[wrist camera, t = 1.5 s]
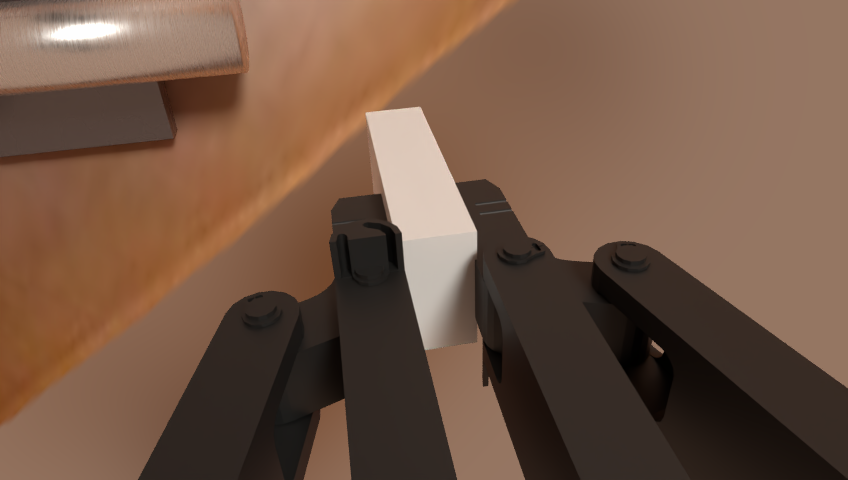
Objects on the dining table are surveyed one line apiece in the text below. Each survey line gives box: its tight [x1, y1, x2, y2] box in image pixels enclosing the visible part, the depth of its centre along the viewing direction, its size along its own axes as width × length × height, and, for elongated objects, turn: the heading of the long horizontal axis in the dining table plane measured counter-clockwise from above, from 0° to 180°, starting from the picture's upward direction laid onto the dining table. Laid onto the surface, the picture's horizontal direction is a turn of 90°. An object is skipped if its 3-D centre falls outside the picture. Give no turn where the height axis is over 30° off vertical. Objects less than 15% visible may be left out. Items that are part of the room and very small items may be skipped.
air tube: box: [0, 0, 249, 96], centre depth 28 cm, size 20×4×4 cm, turn 93°
